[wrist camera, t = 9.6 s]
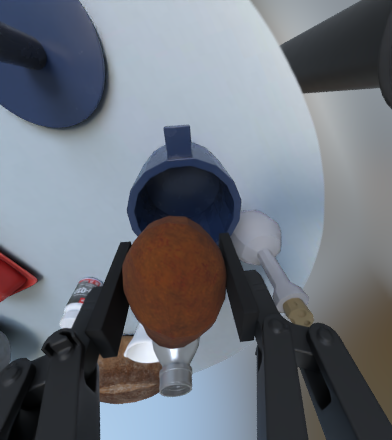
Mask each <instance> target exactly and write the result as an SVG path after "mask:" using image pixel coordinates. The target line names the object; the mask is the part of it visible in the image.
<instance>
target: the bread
mask: <svg viewBox="0 0 392 440" xmlns="http://www.w3.org/2000/svg"><path fill="white" fill-rule="evenodd" d="M132 338H133V336H122V339H121V343H120V347H119V351H118V356H117V357H111V358H102V356H101V355H100V354H99V358H98V361H97V363H98V365H99V389H100V402H105V403H110V404H123V403H131V402H137V401H140V400H143V399H147V398H149V397H152V396H154V395H156V394H157V393H159V386H160V378H159V373H160V370H161V369H162V365H161V364H160V362H155V363H140V362H136V361H133V360H131V359H129V358H128V357H124V352H125V351H126V348H127V346H128V344H129V343H130V341H131V340H132Z"/></svg>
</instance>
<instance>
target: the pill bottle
mask: <svg viewBox="0 0 392 440" xmlns="http://www.w3.org/2000/svg"><path fill="white" fill-rule="evenodd" d="M98 286H103V284H102V282H101V281H99V280H98V279H95V278H84V279H82V280H81V281H80V282H79V283H78V285H77V287H76V289H75V291H74V293H73V294H72V296H71V298H70V300H69V302H68V303H67V305H66V307H65V309H64V313H65V314H64V315H63V317H62V319H61V321H60V326H61V327H62V328H72V325H73V323H74V321H75V319H76V317H77V315H78V313H79V311H80V308H81V306H82V304H83V302H84V300H85V298H86V296H87V294H88V293H89V292H90V291H91V289H92V288H93V287H98Z"/></svg>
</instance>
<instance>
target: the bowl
mask: <svg viewBox="0 0 392 440" xmlns="http://www.w3.org/2000/svg"><path fill="white" fill-rule="evenodd" d="M10 358H11V348H10V343H9V340H8V338H7V337H6V335H5V334H4V333H3V332H1V331H0V372H1V371H2V370H3V369H4V368H5V367H6V366H7V365H8V364H9V363H10Z"/></svg>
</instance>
